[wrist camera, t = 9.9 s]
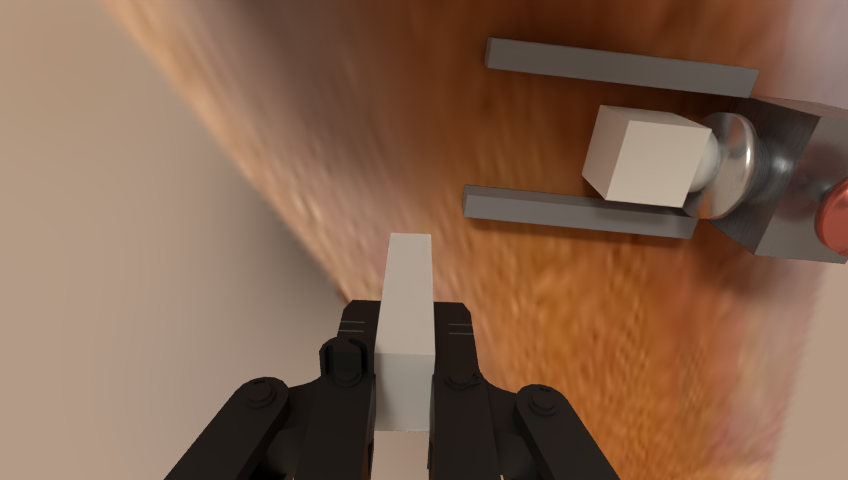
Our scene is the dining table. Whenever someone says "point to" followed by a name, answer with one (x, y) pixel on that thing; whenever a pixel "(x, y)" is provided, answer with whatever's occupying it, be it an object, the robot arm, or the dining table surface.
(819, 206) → the button station
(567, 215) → the guide rails
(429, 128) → the dining table surface
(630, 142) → the cube with cylindrical stub
